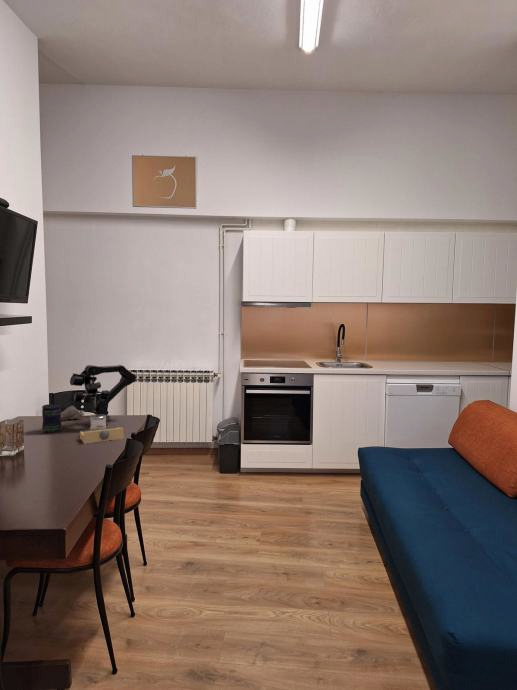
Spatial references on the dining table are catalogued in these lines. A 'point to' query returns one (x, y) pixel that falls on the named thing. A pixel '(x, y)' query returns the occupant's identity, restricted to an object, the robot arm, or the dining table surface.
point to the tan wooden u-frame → (102, 435)
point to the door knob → (98, 422)
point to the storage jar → (51, 418)
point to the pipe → (71, 413)
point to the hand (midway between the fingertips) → (94, 408)
